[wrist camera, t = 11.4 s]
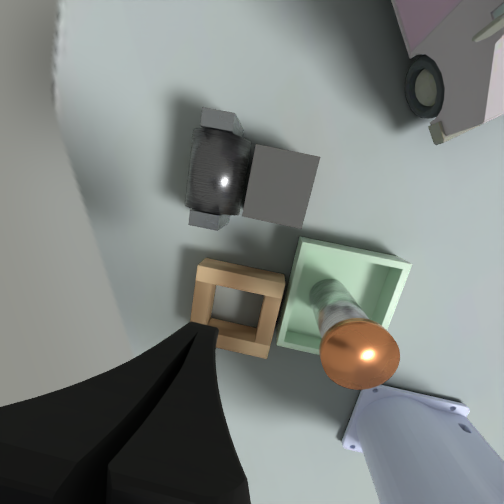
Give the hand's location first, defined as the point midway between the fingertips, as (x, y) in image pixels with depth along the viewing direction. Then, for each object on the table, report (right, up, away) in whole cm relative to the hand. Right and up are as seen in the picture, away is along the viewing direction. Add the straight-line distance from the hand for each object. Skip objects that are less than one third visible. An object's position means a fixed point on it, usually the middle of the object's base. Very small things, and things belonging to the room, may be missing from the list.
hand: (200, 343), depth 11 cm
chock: (+4, +9, +8) cm, 13 cm away
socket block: (+1, 0, +11) cm, 11 cm away
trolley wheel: (0, +10, +8) cm, 13 cm away
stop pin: (+9, 0, +9) cm, 13 cm away
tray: (+9, 0, +10) cm, 14 cm away
